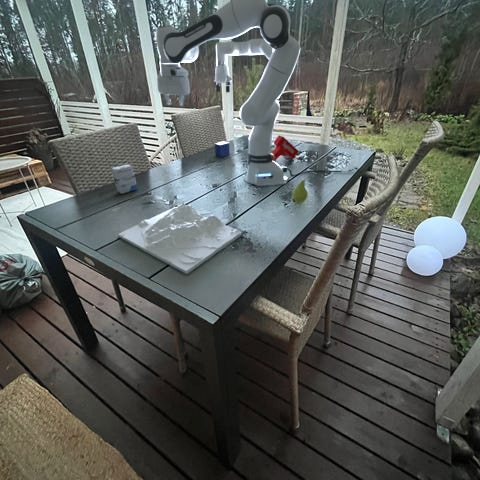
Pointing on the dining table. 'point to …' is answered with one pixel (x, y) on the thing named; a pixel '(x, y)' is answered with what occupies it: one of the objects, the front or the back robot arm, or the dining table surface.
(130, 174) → the ink box
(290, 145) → the red power drill
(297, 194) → the fruit
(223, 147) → the block
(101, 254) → the dining table surface
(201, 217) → the relief map
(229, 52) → the back robot arm
